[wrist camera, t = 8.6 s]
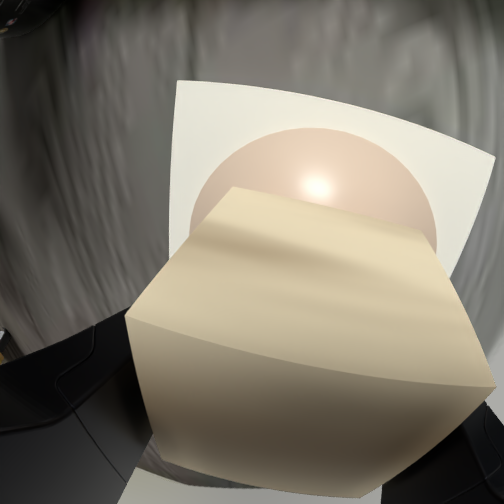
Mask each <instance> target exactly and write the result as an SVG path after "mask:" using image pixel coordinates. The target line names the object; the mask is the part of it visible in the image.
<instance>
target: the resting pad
mask: <svg viewBox="0 0 504 504" xmlns="http://www.w3.org/2000/svg"><path fill="white" fill-rule="evenodd" d="M495 158H496V157H494V156H492V155H490V154H488V153H486V152H484V151H482V150H480V149H477V148H475V147H473V146H471V145H468V144H466V143H464V142H461V141H459V140H457V139H454V138H452V137H449V136H447V135H444V134H442V133H439V132H436V131H434V130H431V129H428V128H425V127H423V126H420V125H417V124H414V123H411V122H408V121H405V120H402V119H399V118H396V117H393V116H389V115H386V114H383V113H379V112H376V111H372V110H369V109H365V108H361V107H358V106H354V105H350V104H346V103H341V102H337V101H333V100H328V99H324V98H319V97H314V96H309V95H304V94H299V93H293V92H288V91H281V90H275V89H268V88H261V87H254V86H246V85H237V84H227V83H215V82H201V81H181V80H177V90H176V100H175V112H174V124H173V138H172V155H171V175H170V207H169V259H170V258H171V257H172V256H173V255H174V253H175V252H176V251H177V250H178V249H179V247H180V246H181V245H182V244H183V243H184V242H185V240H186V239H187V238H188V237H189V236H190V235H191V233H192V232H193V231H194V230H195V229H196V228H197V226H198V225H199V224H200V223H201V222H202V221H203V220H204V218H205V217H206V216H207V215H208V214H209V213H210V212H211V210H212V209H213V208H214V207H215V206H216V205H217V204H218V203H219V201H220V200H221V199H222V198H223V197H224V196H225V195H226V194H227V192H228V191H229V190H230V189H231V188H232V187H238V188H243V189H249V190H254V191H259V192H264V193H269V194H274V195H278V196H283V197H288V198H293V199H297V200H302V201H306V202H311V203H315V204H320V205H324V206H328V207H332V208H337V209H341V210H345V211H349V212H353V213H357V214H361V215H365V216H369V217H373V218H377V219H381V220H384V221H388V222H392V223H396V224H399V225H403V226H407V227H410V228H414V229H417V230H421V231H422V232H423V234H424V236H425V237H426V239H427V241H428V242H429V244H430V246H431V247H432V249H433V251H434V252H435V254H436V256H437V258H438V259H439V261H440V263H441V265H442V267H443V268H444V270H445V272H446V274H447V276H448V278H450V276H451V274H452V272H453V270H454V268H455V266H456V263H457V261H458V259H459V257H460V255H461V252H462V250H463V248H464V246H465V243H466V241H467V239H468V236H469V234H470V231H471V229H472V226H473V224H474V221H475V219H476V216H477V213H478V211H479V208H480V205H481V202H482V199H483V197H484V194H485V191H486V188H487V185H488V181H489V178H490V175H491V172H492V168H493V165H494V161H495Z"/></svg>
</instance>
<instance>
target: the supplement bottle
mask: <svg viewBox="0 0 504 504" xmlns="http://www.w3.org/2000/svg"><path fill="white" fill-rule="evenodd" d="M64 1H65V0H0V38H8V37H16V36H21V35H24V34H26V33H28V32H31V31H32V30H34V29H36V28H37V27H39V26H40V25H41V24H43V23H44V22H45V21H46V20H47V19H48V18H50V17H51V16H52V15H53V14H54V13H55V12H56V11H57V9H58V8H59V7H60V6H61V5H62V4H63V2H64Z"/></svg>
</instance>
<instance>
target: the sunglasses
mask: <svg viewBox="0 0 504 504" xmlns="http://www.w3.org/2000/svg"><path fill="white" fill-rule="evenodd" d="M2 328H3V327H2ZM3 329H4V332H2V331H0V364H1V363H2V361H3V359H4V357H3V356H2V355H3V353H2V352H3V350H4V348H5V347H6V345H7V344H8V342H9V340H10V334H9V333H8V332H7V330H6V329H5V328H3Z"/></svg>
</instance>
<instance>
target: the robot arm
mask: <svg viewBox="0 0 504 504" xmlns="http://www.w3.org/2000/svg"><path fill="white" fill-rule="evenodd" d="M130 308H131V306H130V307H128V308H126V309H124V310H122V311H120V312H118V313H117V314H115V315H113V316H111V317H109V318H107V319H105V320H103V321H101V322H99V323H97V324H96V325H95V326H91V327H89V328H87V329H85V330H83V331H81V332H79V333H77V334H75V335H73V336H71V337H69V338H67V339H65V340H62V341H60V342H58V343H55V344H53V345H51V346H48V347H46V348H43V349H41V350H38V351H36V352H33V353H31V354H28V355H26V356H23V357H20V358H18V359H15V360H13V361H10V362H8V363H5V364H2V365H0V504H117V503H118V501H119V499H120V497H121V495H122V493H123V491H124V489H125V487H126V485H127V483H128V481H129V479H130V477H131V475H132V473H133V471H134V469H135V467H136V465H137V463H138V462H139V460H140V458H141V456H142V454H143V452H144V450H145V448H146V446H147V444H148V442H149V440H150V438H151V436H152V434H153V431H152V428H151V425H150V421H149V418H148V415H147V411H146V407H145V404H144V400H143V396H142V393H141V389H140V385H139V381H138V377H137V373H136V368H135V364H134V360H133V355H132V350H131V346H130V341H129V336H128V331H127V325H126V320H125V314H126V313H127V311H128V310H129V309H130ZM381 504H504V425H503V424H502V423H501V421H500V420H499V419H498V418H497V416H496V415H495V414H494V412H493V411H492V410H491V408H490V407H489V406H487V403H486V402H485V401H483V402H482V403H481V404H480V405H479V406H478V407H477V408H476V409H475V410H474V411H473V412H472V413H471V414H470V415H469V416H468V417H467V418H466V419H465V420H464V421H463V422H462V423H461V424H460V425H459V426H458V427H457V428H455V429H454V430H453V431H452V432H451V433H450V434H449V435H448V436H446V437H445V438H444V439H443V440H442V441H441V442H439V443H438V444H437V445H436V446H435V447H433V448H432V449H431V450H430V451H428V452H427V453H426V454H425V455H423V456H422V457H421V458H419V459H418V460H417V461H415V462H414V463H413V464H411V465H410V466H409V467H407V468H406V469H405V470H403V471H402V472H400V473H399V474H397V475H396V476H394V477H393V478H391V479H390V480H388V481H387V482H385V483H384V484H382V495H381Z"/></svg>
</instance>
